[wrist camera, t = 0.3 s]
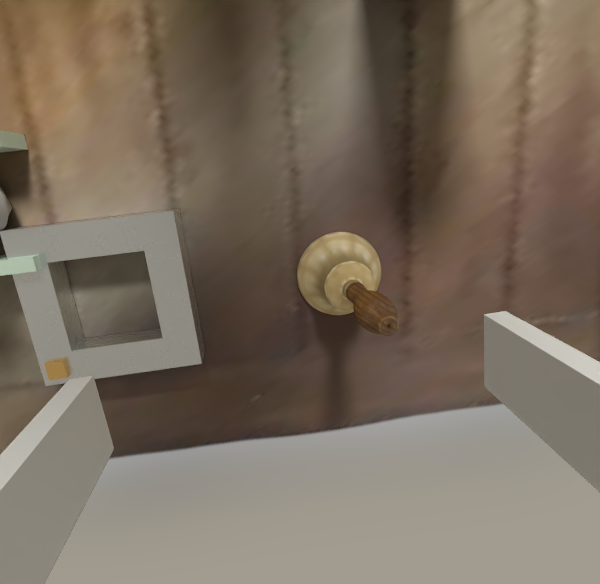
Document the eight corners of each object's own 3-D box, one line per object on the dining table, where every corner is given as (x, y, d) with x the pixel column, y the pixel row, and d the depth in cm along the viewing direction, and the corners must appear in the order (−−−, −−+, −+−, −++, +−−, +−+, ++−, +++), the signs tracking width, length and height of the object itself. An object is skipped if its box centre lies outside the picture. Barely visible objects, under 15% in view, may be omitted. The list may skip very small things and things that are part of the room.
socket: (18, 227, 38) (-5, 232, 34) (179, 208, 39) (172, 211, 35) (60, 371, 41) (43, 388, 38) (205, 350, 42) (201, 366, 39)
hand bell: (289, 241, 40) (310, 280, 25) (374, 223, 41) (446, 252, 25) (305, 322, 43) (333, 403, 27) (385, 304, 43) (457, 376, 28)
